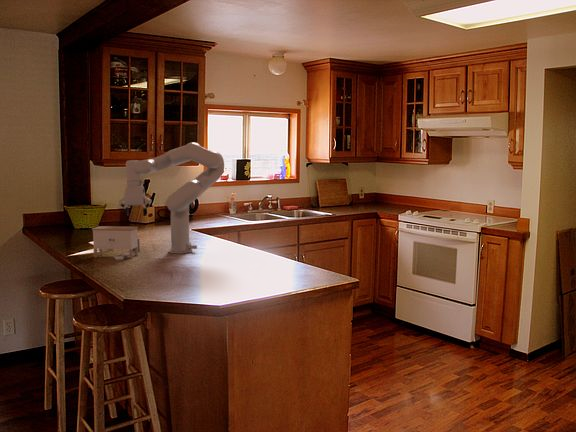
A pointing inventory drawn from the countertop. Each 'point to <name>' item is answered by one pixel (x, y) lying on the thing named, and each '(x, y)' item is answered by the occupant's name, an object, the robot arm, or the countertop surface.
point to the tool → (133, 251)
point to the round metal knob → (119, 257)
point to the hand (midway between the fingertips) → (136, 215)
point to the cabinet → (115, 239)
